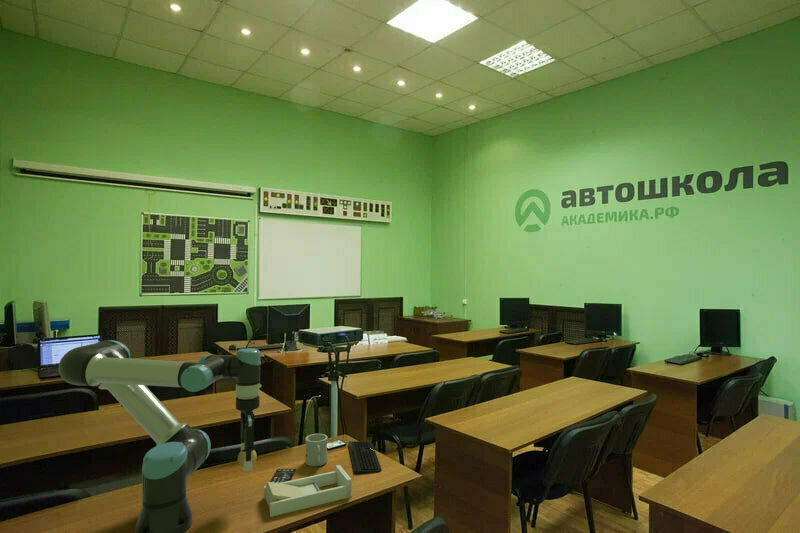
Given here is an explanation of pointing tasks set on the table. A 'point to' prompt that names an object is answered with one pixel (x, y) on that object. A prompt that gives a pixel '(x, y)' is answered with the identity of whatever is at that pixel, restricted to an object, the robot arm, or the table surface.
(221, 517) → the table surface
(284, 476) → the smartphone
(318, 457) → the mug
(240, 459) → the ball
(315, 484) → the lane
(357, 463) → the keyboard
